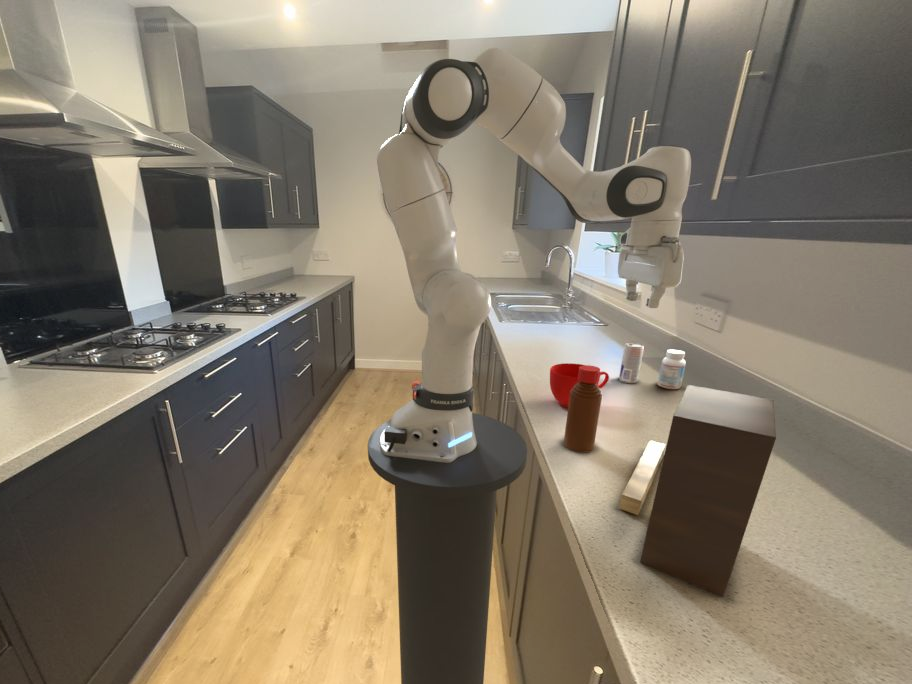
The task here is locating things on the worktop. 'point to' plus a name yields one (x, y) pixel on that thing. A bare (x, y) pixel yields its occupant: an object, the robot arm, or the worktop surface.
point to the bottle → (582, 417)
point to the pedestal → (708, 485)
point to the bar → (642, 478)
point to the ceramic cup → (567, 381)
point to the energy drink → (631, 362)
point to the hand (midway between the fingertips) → (640, 303)
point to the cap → (588, 374)
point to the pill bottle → (672, 370)
